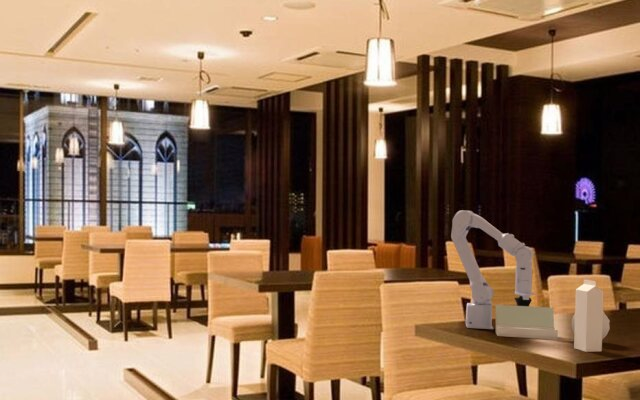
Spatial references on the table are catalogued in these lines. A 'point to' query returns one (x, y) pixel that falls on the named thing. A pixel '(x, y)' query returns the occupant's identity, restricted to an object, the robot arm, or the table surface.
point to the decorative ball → (604, 326)
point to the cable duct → (526, 331)
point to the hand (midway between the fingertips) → (522, 317)
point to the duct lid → (524, 316)
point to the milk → (588, 317)
